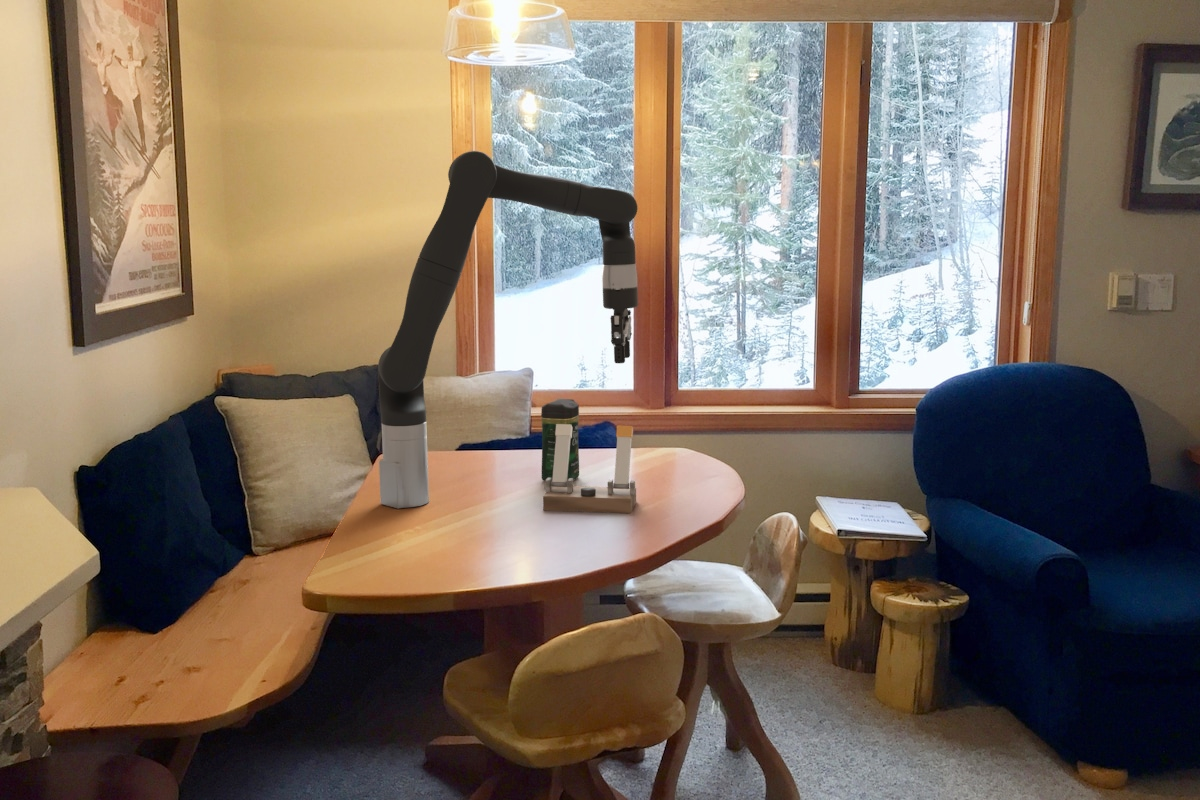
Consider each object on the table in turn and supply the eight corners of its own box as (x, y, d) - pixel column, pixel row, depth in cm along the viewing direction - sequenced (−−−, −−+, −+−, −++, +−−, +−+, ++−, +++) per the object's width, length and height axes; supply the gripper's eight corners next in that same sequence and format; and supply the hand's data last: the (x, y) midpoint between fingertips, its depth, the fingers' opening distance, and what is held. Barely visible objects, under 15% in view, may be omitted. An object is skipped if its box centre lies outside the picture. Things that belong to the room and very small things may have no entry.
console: (551, 499, 223) (550, 473, 222) (637, 501, 220) (637, 476, 219) (542, 510, 214) (542, 484, 213) (631, 513, 211) (631, 486, 211)
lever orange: (614, 489, 216) (618, 428, 221) (629, 490, 216) (633, 428, 221) (612, 487, 215) (617, 425, 219) (628, 487, 214) (632, 425, 219)
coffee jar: (570, 485, 235) (569, 403, 232) (537, 483, 237) (536, 402, 234) (584, 476, 244) (583, 397, 241) (551, 473, 246) (550, 395, 243)
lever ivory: (552, 487, 219) (557, 427, 223) (567, 488, 218) (572, 427, 223) (550, 485, 217) (556, 424, 221) (565, 485, 216) (571, 424, 221)
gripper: (607, 284, 233) (610, 356, 236) (597, 288, 219) (600, 365, 222) (641, 283, 232) (643, 355, 235) (633, 287, 218) (635, 364, 221)
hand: (622, 360), depth 228 cm, fingers open, 8 cm apart
